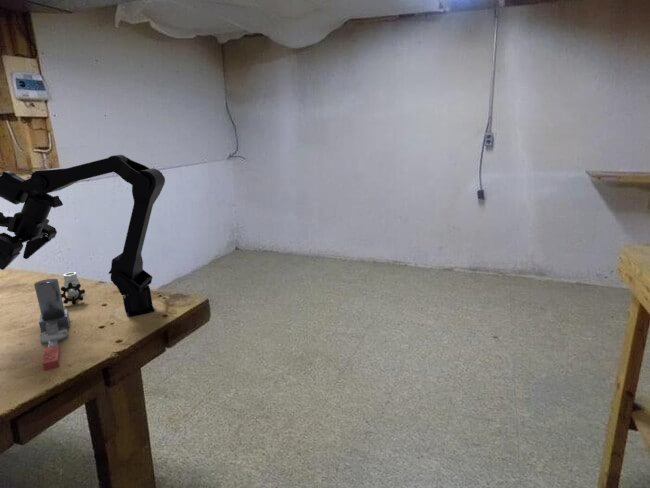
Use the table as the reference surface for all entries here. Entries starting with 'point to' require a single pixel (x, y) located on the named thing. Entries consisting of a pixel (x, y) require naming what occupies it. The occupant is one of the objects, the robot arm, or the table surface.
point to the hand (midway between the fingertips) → (13, 263)
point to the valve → (71, 288)
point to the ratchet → (52, 344)
